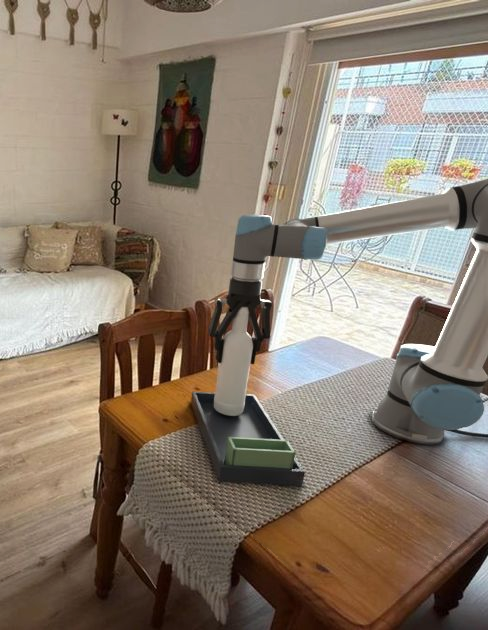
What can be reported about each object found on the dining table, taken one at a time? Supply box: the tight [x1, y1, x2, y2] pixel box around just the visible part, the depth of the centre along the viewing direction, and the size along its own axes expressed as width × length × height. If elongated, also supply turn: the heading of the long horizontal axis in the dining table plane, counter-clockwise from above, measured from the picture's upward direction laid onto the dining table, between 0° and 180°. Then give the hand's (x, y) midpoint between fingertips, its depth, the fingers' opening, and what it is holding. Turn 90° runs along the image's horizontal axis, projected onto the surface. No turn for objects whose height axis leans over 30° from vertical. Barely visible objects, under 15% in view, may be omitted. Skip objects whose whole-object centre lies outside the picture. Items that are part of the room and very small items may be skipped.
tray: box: [190, 391, 306, 487], centre depth 111 cm, size 34×18×4 cm, turn 175°
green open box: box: [224, 437, 296, 469], centre depth 97 cm, size 5×13×7 cm, turn 85°
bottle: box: [214, 307, 253, 416], centre depth 116 cm, size 8×8×30 cm
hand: (234, 361), depth 117 cm, fingers closed on bottle, 8 cm apart
